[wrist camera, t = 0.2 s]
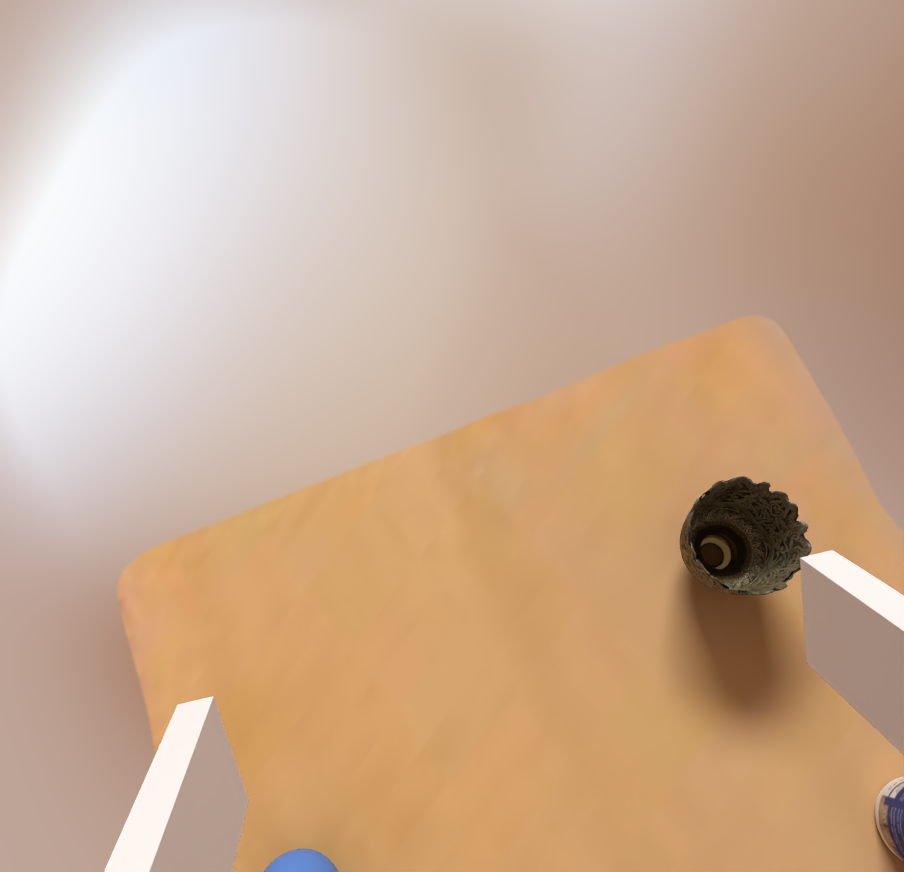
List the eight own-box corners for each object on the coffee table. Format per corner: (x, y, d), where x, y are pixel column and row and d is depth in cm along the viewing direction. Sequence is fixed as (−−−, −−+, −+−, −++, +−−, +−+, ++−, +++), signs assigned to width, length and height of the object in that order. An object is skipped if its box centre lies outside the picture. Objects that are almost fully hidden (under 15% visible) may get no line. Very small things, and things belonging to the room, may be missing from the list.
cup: (711, 628, 49) (751, 619, 41) (639, 548, 51) (664, 526, 44) (784, 562, 50) (836, 542, 43) (711, 486, 52) (748, 454, 45)
